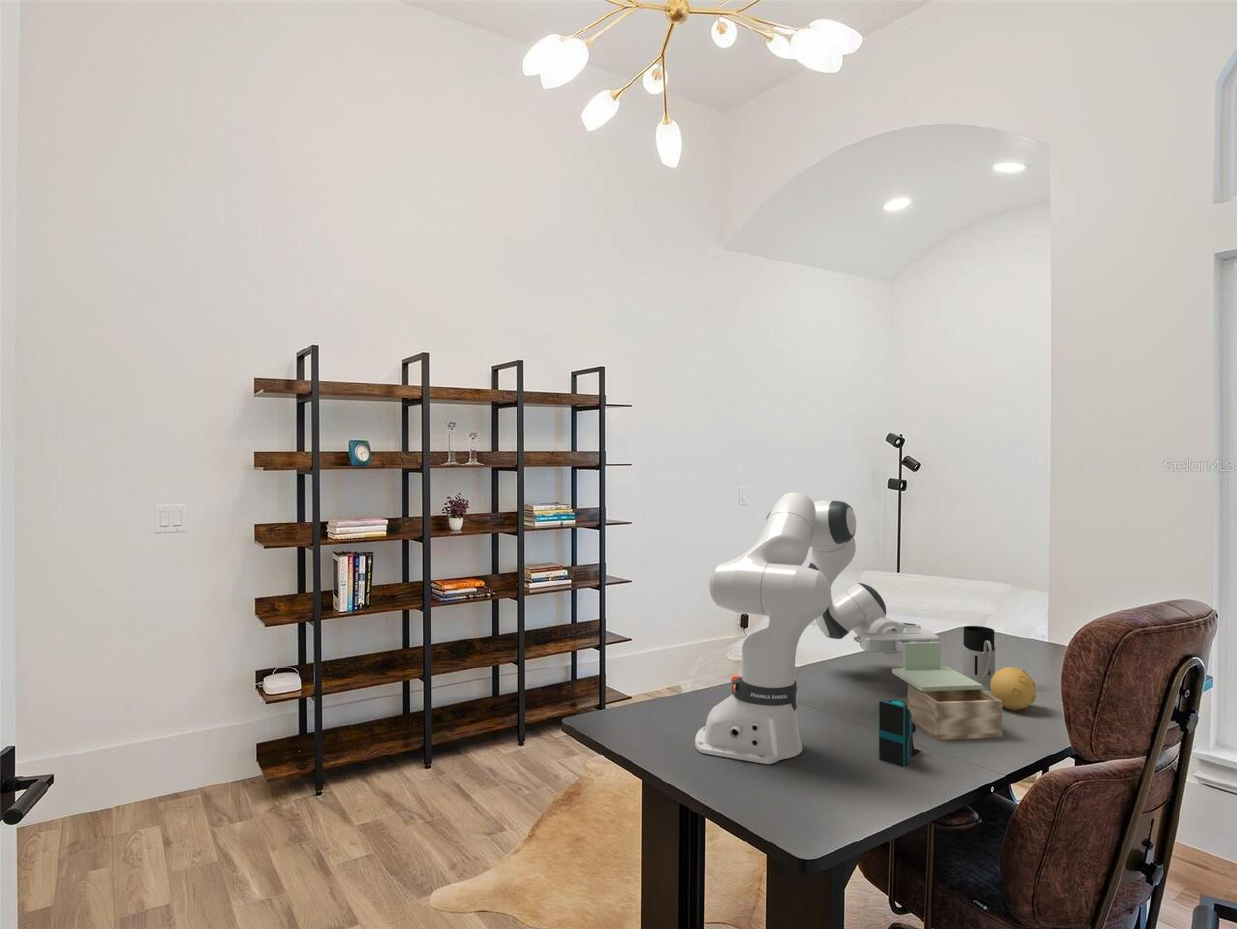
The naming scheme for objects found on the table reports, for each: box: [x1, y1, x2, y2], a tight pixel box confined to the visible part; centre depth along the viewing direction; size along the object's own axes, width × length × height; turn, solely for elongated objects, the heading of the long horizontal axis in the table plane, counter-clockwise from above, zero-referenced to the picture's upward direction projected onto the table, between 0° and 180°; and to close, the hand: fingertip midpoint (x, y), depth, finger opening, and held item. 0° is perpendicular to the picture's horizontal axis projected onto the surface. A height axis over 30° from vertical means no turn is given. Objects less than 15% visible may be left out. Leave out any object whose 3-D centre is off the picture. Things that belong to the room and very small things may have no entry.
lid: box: [891, 641, 983, 691], centre depth 174 cm, size 15×14×7 cm
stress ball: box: [990, 666, 1037, 712], centre depth 179 cm, size 10×10×10 cm
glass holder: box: [962, 625, 996, 691], centre depth 195 cm, size 9×14×15 cm, turn 170°
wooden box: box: [907, 683, 1003, 741], centre depth 167 cm, size 15×13×8 cm
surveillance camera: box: [878, 699, 921, 768], centre depth 151 cm, size 6×12×10 cm
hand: (913, 650), depth 184 cm, fingers closed
